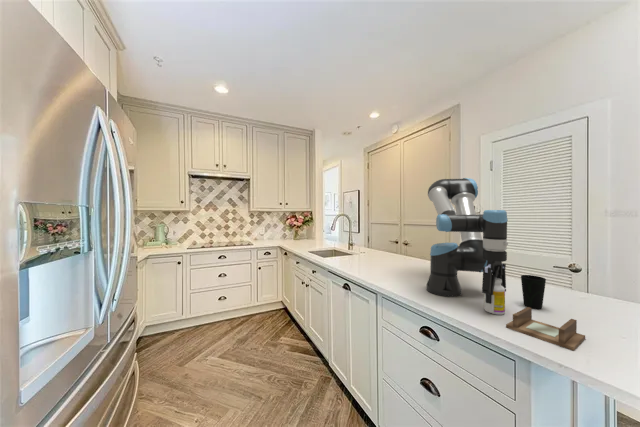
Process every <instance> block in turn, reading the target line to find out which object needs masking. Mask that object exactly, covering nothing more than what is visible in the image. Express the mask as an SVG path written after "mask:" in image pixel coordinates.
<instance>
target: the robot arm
mask: <svg viewBox="0 0 640 427" xmlns="http://www.w3.org/2000/svg"><path fill="white" fill-rule="evenodd" d="M478 195H479V186H478V184H477V182H476V180H475V179H473V178H466V177H463V178H442V179H438V180H436V181H434V182H433V183H432V184H430V186H429V187H428V189H427V196H428V199H429V201H431V202H432V204H433V206H434V208H435V211H436V213H437V216H436V219H435V220H436V221H435V224H436V225H435V226H436V230H438V231H439V232H446V233H447V232H449V233H450V232H451V233H452V232H453V233H454V232H455V233H456V232H459V234H460V239H461V242H459V244H458V243H457V242H440V243H435V244H433V245H431V247H430V251H429V252H430V254H429V256H430V274H429V277H428V279H427V283H426V286H425V287H426V288H425V289H426V291H427V292H429V293H430V294H433V295H437V296H442V297H452V298H453V297H459V296H461V295H462V287H461V284H460V281H459V278H458V272H471V273H472V272H473V273H476V272H477V273H482V284H481V286H482V287H481V293H482V294H484V293H485V310H486V312H487V311H489V312H492V313H494V295H493V290H494V284H495V278H500V279H502V283H501V286H503V287H504V288H505V293H506V292H507V281H506V280H507V278H506V277H507V276H506V267H507V265H506V263H503V262H507V259H508V252H507V251H506V250H507V249H508V247H507V246H508V245H509V242H508V241H507V240H508V238H507V237H508V220H509V219H508V214H507V211H506V210H504V209H485V210H483V213H482V214H477V212H476V210H475V205H474V202H475V200H476V198H477V197H478ZM481 233H482V234H481ZM485 310H484V311H485ZM489 312H488V313H489ZM492 313H491V314H492Z"/></svg>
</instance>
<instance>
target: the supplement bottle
mask: <svg viewBox="0 0 640 427" xmlns="http://www.w3.org/2000/svg"><path fill="white" fill-rule="evenodd" d="M501 283H502V279H500V278H495V284H494V290H493V295H494V313H492V312H489V311H486V310H485V293H483V310H484V311H486V312H487V313H489V314H493V315H498V316H500V315H504V314H505V313H506V292H505V289H506V288H504V287H503V286H501Z"/></svg>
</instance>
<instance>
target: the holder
mask: <svg viewBox="0 0 640 427" xmlns="http://www.w3.org/2000/svg"><path fill="white" fill-rule="evenodd" d="M532 310H533V309H532V308H530V307H526V306H525V308H522V309H521V310H519V311H517V312H515V313H513V314H512V320H511V321H509V322H508V323H506V324H505V328H507V329H508V330H513V331H515V332H518V333H521V334H525V335H527V336H530V337H533V338H536V339H537V340H542V341H544V342H547V343H551V344H553V345H555V344H556V346H558V345H559V347H561V346H562V348H564V347H565V349H567V348H568V349H567V350H570V351H574V352H575V350H576V349H577V348H578V347H579V346H580V345H581V344H582V343H583V342H584V341H585V340H586V335H585V334H583V333H582V334H581V333H578V332H577V319H575V318H569V320H568V321H566V322H565V323H563V325H561V326H559V327H558V326H556V325H555V326H554V325H551V324H548V323H545V322H543V321H538V320H536V319H532V317H533V316H532V314H533V312H532Z"/></svg>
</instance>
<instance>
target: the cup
mask: <svg viewBox="0 0 640 427" xmlns="http://www.w3.org/2000/svg"><path fill="white" fill-rule="evenodd" d="M520 278H521V279H520V280H521V290H522V291H521V292H522V299H523V301H522V302H523V306H524V307H525V308H526V307H530V308H532V310H543V303H544V297H545V288H546V281H547V279H546V278H545V277H543V276H538V275H531V274H523V275H522V274H521V275H520Z"/></svg>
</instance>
